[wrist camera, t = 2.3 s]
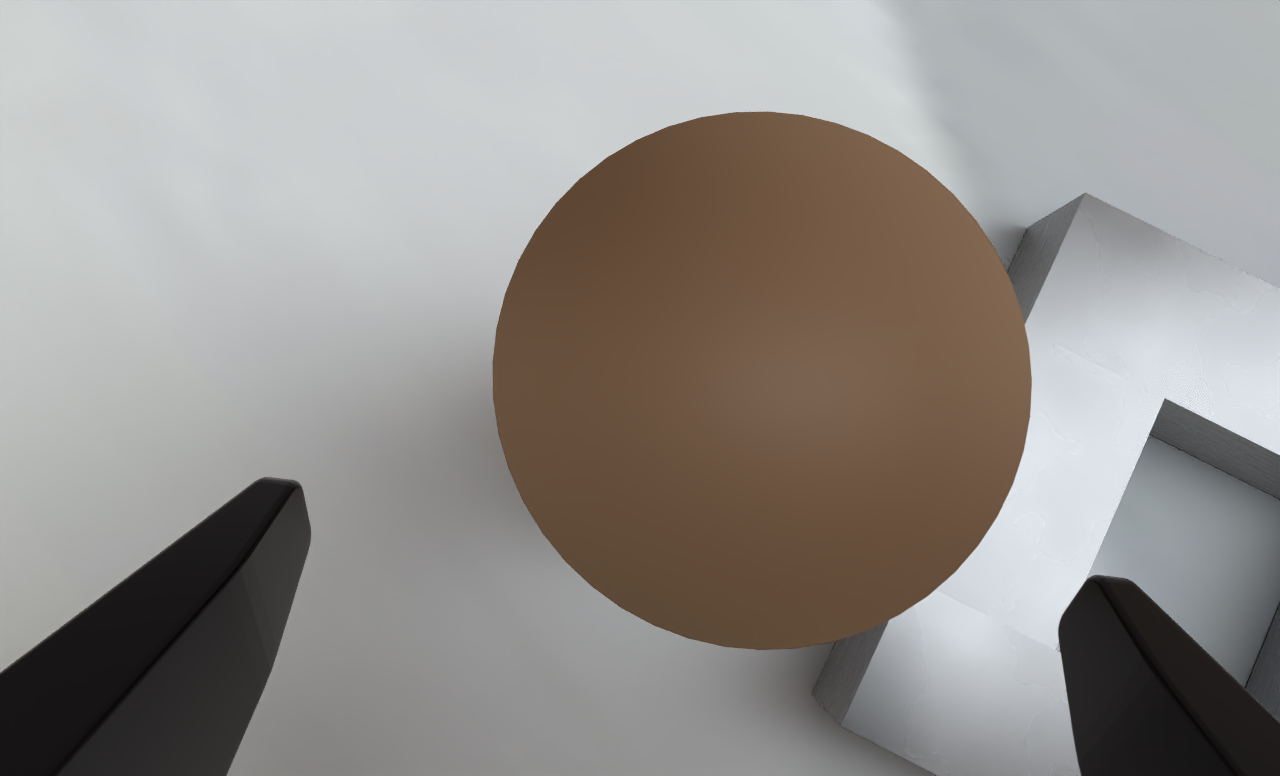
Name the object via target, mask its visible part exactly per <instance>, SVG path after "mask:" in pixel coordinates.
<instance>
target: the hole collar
mask: <svg viewBox="0 0 1280 776" xmlns="http://www.w3.org/2000/svg"><path fill="white" fill-rule="evenodd" d="M1007 274H1008V276H1009V278H1010V280H1011V283H1012V286H1013V289H1014V291H1015V294H1016V297H1017V300H1018V303H1019V306H1020V309H1021V311H1022V315H1023V320H1024V325H1025V330H1026V334H1027V339H1028V344H1029V351H1030V364H1031V376H1032V390H1031V410H1030V420H1029V426H1028V431H1027V437H1026V442H1025V448H1024V452H1023V455H1022V458H1021V461H1020V464H1019V467H1018V471H1017V474H1016V477H1015V480H1014V483H1013V485H1012V487H1011V490H1010V492H1009V494H1008V496H1007V498H1006V500H1005V502H1004V504H1003V506H1002V508H1001V511H1000V513H999V515H998V517H997V518H996V520H995V521H994V523H993V524H992V526H991V527H990V529H989V530H988V532H987V533H986V535H985V536H984V538H983V539H982V541H981V542H980V544H979V545H978V547H977V548H976V549H975V550H974V551H973V552H972V554H971V555H970V556H969V557H968V558H967V559H966V560H965V562H964V563H963V564H962V565H961V566H960V567H959V569H958V570H957V571H956V572H955V573H954V574H953V575H952V576H950V577H949V578H948V579H947V580H946V581H945V582H944V583H942V584H941V585H940V586H939V587H938V588H937V589H936V590H934V591H933V592H932V593H931V594H930V595H929V596H927V597H926V598H924V599H923V600H921V601H920V602H918V603H917V604H915V605H914V606H912V607H911V608H909V609H908V610H906V611H905V612H903V613H902V614H900V615H898V616H896V617H894V618H892V619H890V620H888V621H886V622H884V623H882V624H880V625H878V626H876V627H873V628H871V629H869V630H867V631H865V632H861V633H858V634H855V635H852V636H849V637H846V638H843V639H840V640H837V641H836V643H835V645H834V647H833V649H832V651H831V653H830V655H829V658H828V660H827V662H826V664H825V666H824V668H823V671H822V673H821V675H820V677H819V679H818V681H817V683H816V686H815V688H814V690H813V692H812V695H813V697H814V698H815V699H816V700H817V701H818V702H819V703H820V704H821V705H822V706H823V708H824V709H825V710H826V711H827V712H828V713H829V714H830V715H831V716H832V717H833V718H834V720H835V721H836V722H837V723H838V724H839V725H840V726H841V727H843V728H845V729H847V730H849V731H851V732H853V733H855V734H857V735H859V736H861V737H863V738H865V739H867V740H869V741H870V742H872V743H874V744H876V745H878V746H880V747H882V748H884V749H886V750H888V751H890V752H892V753H894V754H896V755H898V756H900V757H902V758H904V759H906V760H908V761H910V762H912V763H914V764H916V765H917V766H919V767H921V768H923V769H925V770H927V771H929V772H931V773H933V774H935V775H937V776H1081V774H1080V770H1079V765H1078V761H1077V755H1076V750H1075V744H1074V738H1073V731H1072V725H1071V718H1070V712H1069V705H1068V698H1067V692H1066V685H1065V678H1064V672H1063V665H1062V659H1061V653H1060V652H1058V651H1056V650H1055V649H1056V647H1057V645H1058V642H1059V639H1058V627H1059V622H1060V619H1061V616H1062V614H1063V613H1064V611H1065V610H1066V608H1067V607H1068V605H1069V604H1070V602H1071V601H1072V600H1073V598H1074V597H1075V595H1076V594H1077V592H1078V591H1079V589H1080V588H1081V586H1082V585H1083V584H1084V582H1085V580H1086V578H1087V576H1088V573H1089V571H1090V569H1091V567H1092V564H1093V562H1094V560H1095V557H1096V555H1097V553H1098V550H1099V548H1100V546H1101V544H1102V541H1103V539H1104V537H1105V534H1106V532H1107V530H1108V527H1109V525H1110V523H1111V521H1112V518H1113V516H1114V514H1115V511H1116V509H1117V507H1118V504H1119V502H1120V500H1121V498H1122V495H1123V493H1124V491H1125V488H1126V486H1127V484H1128V482H1129V479H1130V477H1131V475H1132V472H1133V470H1134V468H1135V465H1136V463H1137V461H1138V459H1139V456H1140V454H1141V452H1142V449H1143V447H1144V445H1145V442H1146V440H1147V438H1148V436H1149V434H1150V435H1152V436H1154V437H1156V438H1158V439H1160V440H1162V441H1164V442H1166V443H1168V444H1170V445H1172V446H1174V447H1176V448H1178V449H1180V450H1182V451H1184V452H1186V453H1188V454H1190V455H1192V456H1194V457H1196V458H1198V459H1200V460H1202V461H1204V462H1206V463H1209V464H1211V465H1213V466H1215V467H1217V468H1219V469H1221V470H1223V471H1225V472H1227V473H1229V474H1231V475H1233V476H1235V477H1237V478H1239V479H1241V480H1243V481H1245V482H1247V483H1249V484H1251V485H1253V486H1255V487H1257V488H1259V489H1261V490H1263V491H1265V492H1267V493H1269V494H1271V495H1273V496H1275V497H1277V498H1279V499H1280V289H1279V288H1277V287H1275V286H1273V285H1271V284H1269V283H1267V282H1265V281H1263V280H1261V279H1259V278H1257V277H1255V276H1253V275H1251V274H1249V273H1247V272H1245V271H1243V270H1241V269H1239V268H1237V267H1235V266H1233V265H1231V264H1229V263H1227V262H1225V261H1223V260H1221V259H1219V258H1216V257H1214V256H1212V255H1210V254H1208V253H1206V252H1204V251H1202V250H1200V249H1198V248H1196V247H1194V246H1192V245H1190V244H1188V243H1186V242H1184V241H1182V240H1180V239H1178V238H1176V237H1174V236H1172V235H1170V234H1168V233H1166V232H1164V231H1162V230H1160V229H1158V228H1156V227H1154V226H1152V225H1150V224H1148V223H1146V222H1144V221H1142V220H1140V219H1138V218H1136V217H1134V216H1132V215H1130V214H1127V213H1125V212H1123V211H1121V210H1119V209H1117V208H1115V207H1113V206H1111V205H1109V204H1107V203H1105V202H1103V201H1101V200H1099V199H1097V198H1095V197H1093V196H1091V195H1089V194H1087V193H1084V194H1082V195H1081V196H1079V197H1077V198H1076V199H1074V200H1072V201H1071V202H1069V203H1068V204H1066V205H1064V206H1063V207H1061V208H1059V209H1058V210H1056V211H1054V212H1053V213H1051V214H1049V215H1048V216H1046V217H1044V218H1043V219H1041V220H1039V221H1038V222H1036V223H1034V224H1033V225H1031V226H1029V227H1028V229H1027V231H1026V234H1025V236H1024V238H1023V240H1022V242H1021V244H1020V246H1019V249H1018V251H1017V253H1016V255H1015V257H1014V259H1013V262H1012V264H1011V266H1010V268H1009V270H1008V272H1007ZM1246 690H1247V691H1248V692H1249V693H1250V694H1251V695H1252V696H1253V697H1254V698H1255V699H1256V700H1257V701H1258V702H1259V703H1260V704H1261V705H1262V706H1263V707H1264V708H1265V709H1266V710H1268V711H1269V712H1270V713H1271V714H1272V715H1273V716H1274V717H1275V718H1276V719H1277V720H1278V721H1279V722H1280V605H1279V608H1278V610H1277V613H1276V615H1275V617H1274V620H1273V622H1272V625H1271V627H1270V630H1269V632H1268V635H1267V637H1266V640H1265V642H1264V644H1263V647H1262V649H1261V652H1260V654H1259V657H1258V659H1257V662H1256V664H1255V666H1254V669H1253V671H1252V674H1251V676H1250V679H1249V681H1248V684H1247V686H1246Z"/></svg>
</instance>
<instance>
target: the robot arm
mask: <svg viewBox="0 0 1280 776" xmlns="http://www.w3.org/2000/svg"><path fill="white" fill-rule="evenodd" d="M310 541H311V527H310V522H309V517H308V512H307V507H306V502H305V497H304V493H303V489H302V486H301V485H300V483H299V482H297V481H295V480H289V479H280V478H272V477H264V478H261V479H259V480H257V481H255V482H254V483H252V484H251V485H250V486H248V487H247V488H246V489H244V490H243V491H242V492H240V493H239V494H238V495H236V496H235V497H234V498H232V499H231V500H230V501H228V502H227V503H226V504H224V505H223V506H222V507H220V508H219V509H218V510H216V511H215V512H214V513H212V514H211V515H210V516H208V517H207V518H206V519H204V520H203V521H202V522H200V523H199V524H198V525H196V526H195V527H194V528H192V529H191V530H190V531H188V532H187V533H186V534H184V535H183V536H182V537H180V538H179V539H178V540H176V541H175V542H174V543H172V544H171V545H170V546H168V547H167V548H166V549H164V550H163V551H162V552H160V553H159V554H158V555H156V556H155V557H154V558H152V559H151V560H150V561H148V562H147V563H146V564H144V565H143V566H142V567H140V568H139V569H138V570H136V571H135V572H134V573H132V574H131V575H130V576H128V577H127V578H126V579H124V580H123V581H122V582H120V583H119V584H118V585H116V586H115V587H114V588H112V589H111V590H110V591H108V592H107V593H106V594H104V595H103V596H102V597H100V598H99V599H98V600H96V601H95V602H94V603H92V604H91V605H90V606H88V607H87V608H86V609H84V610H83V611H82V612H80V613H79V614H78V615H76V616H75V617H74V618H72V619H71V620H70V621H68V622H67V623H66V624H64V625H63V626H62V627H60V628H59V629H58V630H56V631H55V632H54V633H52V634H51V635H50V636H48V637H47V638H46V639H44V640H43V641H42V642H40V643H39V644H38V645H36V646H35V647H34V648H32V649H31V650H30V651H28V652H27V653H26V654H24V655H23V656H22V657H20V658H19V659H18V660H16V661H15V662H14V663H13V664H11V665H10V666H9V667H7V668H6V669H5V670H3V671H2V672H1V673H0V776H226V775H227V773H228V770H229V768H230V766H231V763H232V761H233V759H234V757H235V754H236V752H237V750H238V747H239V745H240V743H241V741H242V738H243V736H244V734H245V731H246V729H247V727H248V724H249V722H250V720H251V718H252V715H253V713H254V711H255V708H256V706H257V704H258V702H259V699H260V697H261V695H262V692H263V690H264V688H265V685H266V683H267V680H268V678H269V675H270V673H271V670H272V667H273V664H274V661H275V658H276V655H277V652H278V649H279V645H280V642H281V639H282V636H283V632H284V629H285V626H286V622H287V619H288V616H289V613H290V609H291V606H292V603H293V599H294V596H295V593H296V590H297V586H298V583H299V580H300V577H301V573H302V570H303V567H304V563H305V560H306V557H307V554H308V550H309V546H310ZM1058 639H1059V645H1060V652H1061V659H1062V665H1063V672H1064V678H1065V685H1066V692H1067V698H1068V705H1069V712H1070V718H1071V725H1072V731H1073V738H1074V744H1075V750H1076V755H1077V761H1078V765H1079V770H1080V774H1081V776H1280V722H1279V721H1278V720H1277V719H1276V718H1275V717H1274V716H1273V715H1272V714H1271V713H1270V712H1269V711H1268V710H1266V709H1265V708H1264V707H1263V706H1262V705H1261V704H1260V703H1259V702H1258V701H1257V700H1256V699H1255V698H1254V697H1253V696H1252V695H1251V694H1250V693H1249V692H1248V691H1247V690H1246V689H1245V688H1244V687H1243V686H1241V685H1240V684H1239V683H1238V682H1237V681H1236V680H1235V679H1234V678H1233V677H1232V676H1231V675H1230V674H1229V673H1228V672H1227V671H1226V670H1225V669H1224V668H1223V667H1222V666H1221V665H1220V664H1219V663H1218V662H1216V661H1215V660H1214V659H1213V658H1212V657H1211V656H1210V655H1209V654H1208V653H1207V652H1206V651H1205V650H1204V649H1203V648H1202V647H1201V646H1200V645H1199V644H1198V643H1197V642H1196V641H1195V640H1194V639H1193V638H1191V637H1190V636H1189V635H1188V634H1187V633H1186V632H1185V631H1184V630H1183V629H1182V628H1181V627H1180V626H1179V625H1178V624H1177V623H1176V622H1175V621H1174V620H1173V619H1172V618H1171V617H1170V616H1169V615H1168V614H1166V613H1165V612H1164V611H1163V610H1162V609H1161V608H1160V607H1159V606H1158V605H1157V604H1156V603H1155V602H1154V601H1153V600H1152V599H1151V598H1150V597H1149V596H1148V595H1147V594H1146V593H1145V592H1144V591H1143V590H1141V589H1140V588H1139V587H1138V586H1137V585H1136V584H1135V583H1134V582H1132V581H1130V580H1128V579H1125V578H1119V577H1111V576H1103V575H1093V576H1091V577H1090V578H1088V579H1087V580H1086V581H1085V582H1084V584H1083V585H1082V586H1081V588H1080V589H1079V591H1078V592H1077V594H1076V595H1075V597H1074V598H1073V600H1072V601H1071V602H1070V604H1069V605H1068V607H1067V608H1066V610H1065V611H1064V613H1063V614H1062V616H1061V619H1060V622H1059V627H1058Z"/></svg>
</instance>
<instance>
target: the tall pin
mask: <svg viewBox="0 0 1280 776" xmlns="http://www.w3.org/2000/svg"><path fill="white" fill-rule="evenodd" d="M1031 390H1032V376H1031V364H1030V351H1029V344H1028V339H1027V334H1026V330H1025V325H1024V320H1023V315H1022V311H1021V309H1020V306H1019V303H1018V300H1017V297H1016V294H1015V291H1014V289H1013V286H1012V283H1011V280H1010V278H1009V276H1008V274H1007V272H1006V270H1005V268H1004V266H1003V264H1002V262H1001V260H1000V258H999V256H998V254H997V252H996V250H995V248H994V247H993V245H992V244H991V242H990V241H989V239H988V238H987V236H986V235H985V233H984V232H983V230H982V229H981V227H980V226H979V224H978V223H977V221H976V220H975V219H974V217H973V216H972V215H971V214H970V213H969V212H968V211H967V209H966V208H965V207H964V206H963V205H962V204H961V203H960V201H959V200H958V199H957V198H956V197H955V196H954V194H953V193H951V192H950V191H949V190H948V189H947V188H946V187H945V186H944V185H943V184H941V183H940V182H939V181H938V180H937V179H936V178H935V177H934V176H932V175H931V174H930V173H929V172H928V171H927V170H925V169H924V168H923V167H921V166H920V165H918V164H917V163H915V162H914V161H912V160H911V159H910V158H908V157H907V156H905V155H904V154H902V153H901V152H899V151H898V150H896V149H894V148H892V147H890V146H888V145H886V144H884V143H882V142H880V141H879V140H877V139H875V138H873V137H871V136H869V135H867V134H864V133H861V132H859V131H856V130H853V129H850V128H848V127H845V126H842V125H840V124H837V123H833V122H829V121H825V120H821V119H816V118H812V117H808V116H804V115H795V114H786V113H776V112H734V113H727V114H721V115H714V116H707V117H701V118H697V119H694V120H690V121H687V122H683V123H679V124H676V125H672V126H669V127H666V128H664V129H662V130H659V131H657V132H655V133H652V134H650V135H648V136H645V137H643V138H641V139H638V140H636V141H634V142H633V143H631V144H629V145H628V146H626V147H624V148H623V149H621V150H619V151H617V152H616V153H614V154H612V155H611V156H609V157H607V158H606V159H605V160H603V161H602V162H601V163H600V164H598V165H597V166H596V167H594V168H593V169H592V170H591V171H589V172H588V173H587V174H586V175H584V176H583V177H582V178H580V179H579V180H578V181H577V182H576V183H575V184H574V185H573V187H572V188H571V189H570V190H569V191H568V192H567V193H566V194H565V195H564V196H563V197H562V198H561V199H560V200H559V201H558V202H557V203H556V204H555V205H554V207H553V208H552V209H551V211H550V212H549V213H548V215H547V216H546V217H545V219H544V220H543V221H542V223H541V224H540V225H539V227H538V228H537V229H536V231H535V232H534V234H533V236H532V238H531V239H530V241H529V243H528V245H527V247H526V248H525V250H524V252H523V254H522V255H521V257H520V259H519V261H518V263H517V266H516V268H515V271H514V273H513V276H512V278H511V281H510V283H509V286H508V288H507V291H506V293H505V297H504V301H503V305H502V309H501V313H500V317H499V321H498V325H497V330H496V338H495V347H494V356H493V400H494V406H495V413H496V419H497V426H498V433H499V437H500V440H501V444H502V447H503V450H504V454H505V457H506V461H507V464H508V468H509V470H510V472H511V475H512V477H513V479H514V482H515V484H516V486H517V488H518V491H519V493H520V495H521V497H522V500H523V502H524V503H525V505H526V507H527V508H528V510H529V512H530V513H531V515H532V517H533V518H534V520H535V522H536V523H537V525H538V527H539V528H540V530H541V531H542V533H543V534H544V535H545V537H546V538H547V539H548V540H549V542H550V543H551V544H552V545H553V547H554V548H555V549H556V550H557V552H558V553H559V554H560V555H561V557H562V558H563V559H564V560H565V561H566V562H567V563H568V564H569V565H570V566H571V567H572V568H573V569H574V570H575V571H576V572H577V573H578V574H579V575H580V576H581V577H582V578H584V579H585V580H586V581H587V582H588V583H589V584H590V585H591V586H592V587H593V588H595V589H596V590H598V591H599V592H600V593H602V594H603V595H604V596H606V597H607V598H609V599H610V600H611V601H613V602H614V603H615V604H617V605H618V606H620V607H621V608H623V609H625V610H626V611H628V612H630V613H632V614H634V615H636V616H638V617H639V618H641V619H643V620H645V621H647V622H649V623H651V624H652V625H654V626H657V627H660V628H662V629H665V630H668V631H670V632H673V633H676V634H678V635H681V636H684V637H686V638H689V639H694V640H698V641H702V642H707V643H711V644H715V645H720V646H724V647H735V648H746V649H756V650H769V649H793V648H801V647H807V646H812V645H818V644H824V643H829V642H834V641H837V640H840V639H843V638H846V637H849V636H852V635H855V634H858V633H861V632H865V631H867V630H869V629H871V628H873V627H876V626H878V625H880V624H882V623H884V622H886V621H888V620H890V619H892V618H894V617H896V616H898V615H900V614H902V613H903V612H905V611H906V610H908V609H909V608H911V607H912V606H914V605H915V604H917V603H918V602H920V601H921V600H923V599H924V598H926V597H927V596H929V595H930V594H931V593H932V592H933V591H934V590H936V589H937V588H938V587H939V586H940V585H941V584H942V583H944V582H945V581H946V580H947V579H948V578H949V577H950V576H952V575H953V574H954V573H955V572H956V571H957V570H958V569H959V567H960V566H961V565H962V564H963V563H964V562H965V560H966V559H967V558H968V557H969V556H970V555H971V554H972V552H973V551H974V550H975V549H976V548H977V547H978V545H979V544H980V542H981V541H982V539H983V538H984V536H985V535H986V533H987V532H988V530H989V529H990V527H991V526H992V524H993V523H994V521H995V520H996V518H997V517H998V515H999V513H1000V511H1001V508H1002V506H1003V504H1004V502H1005V500H1006V498H1007V496H1008V494H1009V492H1010V490H1011V487H1012V485H1013V483H1014V480H1015V477H1016V474H1017V471H1018V467H1019V464H1020V461H1021V458H1022V455H1023V452H1024V448H1025V442H1026V437H1027V431H1028V426H1029V420H1030V410H1031Z"/></svg>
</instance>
